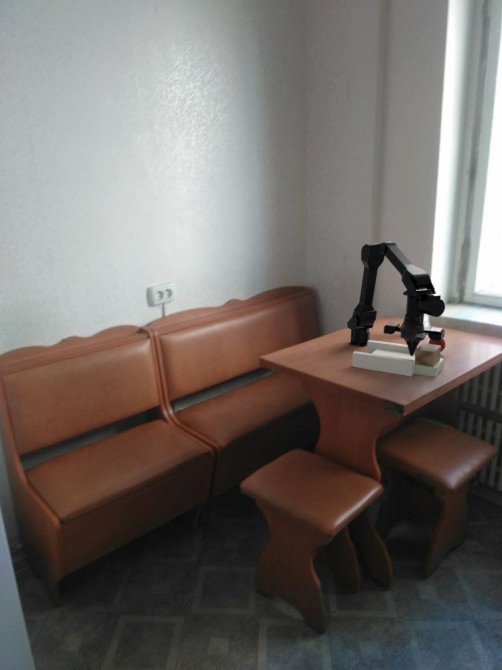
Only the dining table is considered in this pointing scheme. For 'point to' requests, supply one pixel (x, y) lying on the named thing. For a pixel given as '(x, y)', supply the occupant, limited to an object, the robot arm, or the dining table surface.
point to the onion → (438, 343)
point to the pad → (429, 369)
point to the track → (385, 358)
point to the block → (427, 354)
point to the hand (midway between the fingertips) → (411, 355)
